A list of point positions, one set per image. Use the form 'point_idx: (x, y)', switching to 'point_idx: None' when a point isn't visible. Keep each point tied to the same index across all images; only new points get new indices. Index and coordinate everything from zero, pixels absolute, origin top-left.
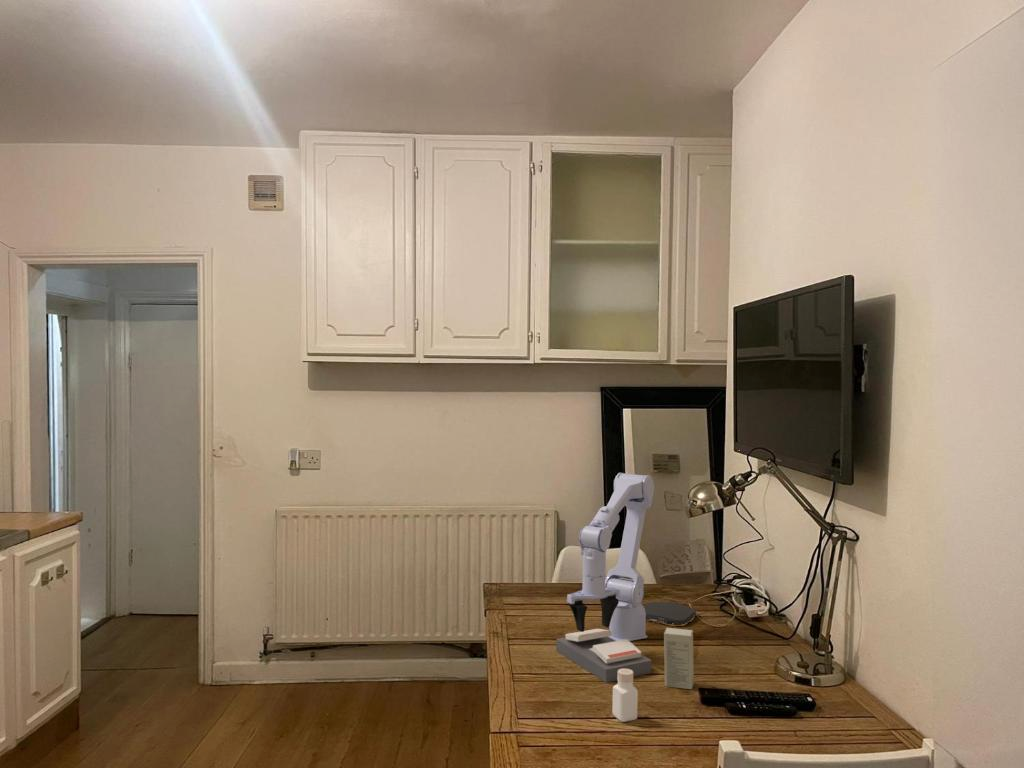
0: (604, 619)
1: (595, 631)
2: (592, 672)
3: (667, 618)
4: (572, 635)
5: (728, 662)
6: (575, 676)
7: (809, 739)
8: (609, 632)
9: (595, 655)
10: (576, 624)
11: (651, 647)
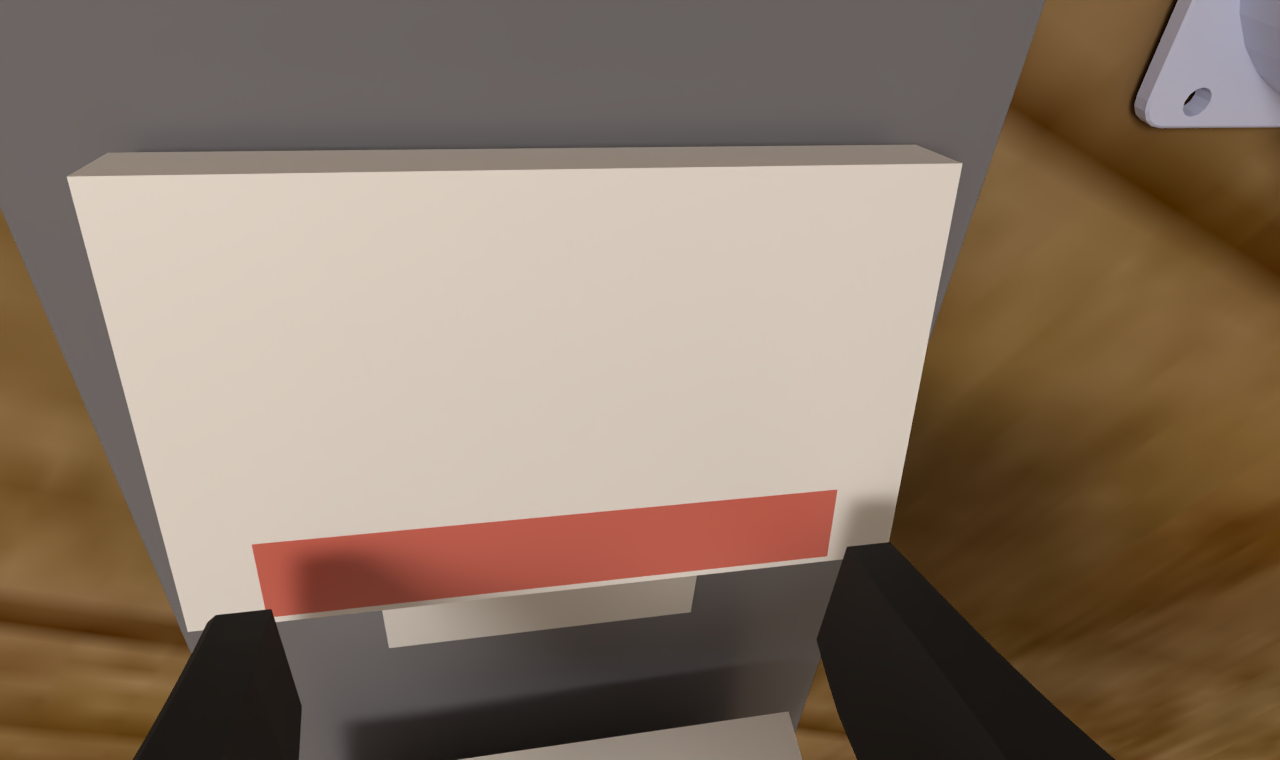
0: (889, 695)
1: (707, 422)
2: None
3: None
4: (146, 464)
5: (1266, 673)
6: (59, 665)
7: None
8: (842, 546)
9: (355, 690)
10: (164, 717)
11: (1242, 342)
